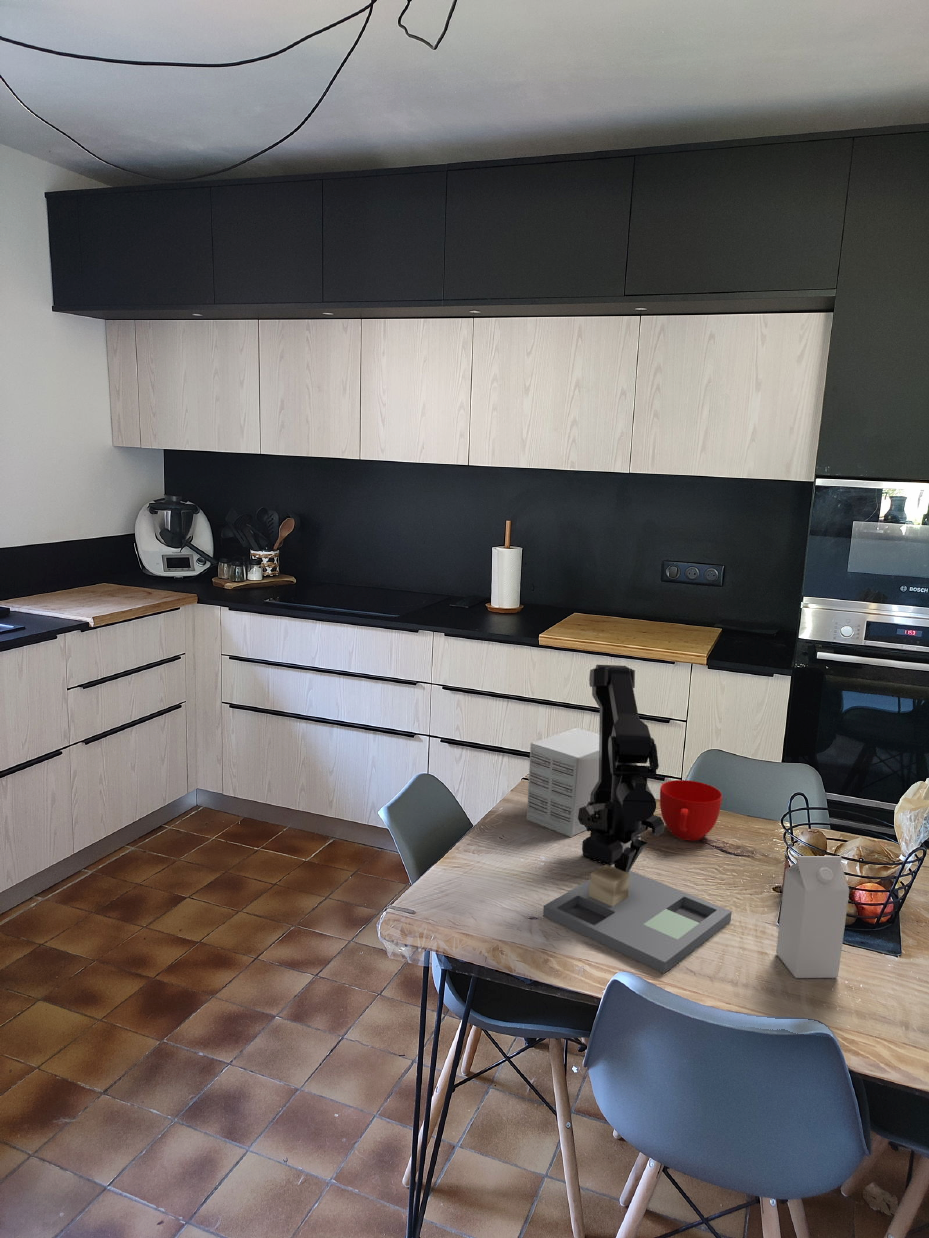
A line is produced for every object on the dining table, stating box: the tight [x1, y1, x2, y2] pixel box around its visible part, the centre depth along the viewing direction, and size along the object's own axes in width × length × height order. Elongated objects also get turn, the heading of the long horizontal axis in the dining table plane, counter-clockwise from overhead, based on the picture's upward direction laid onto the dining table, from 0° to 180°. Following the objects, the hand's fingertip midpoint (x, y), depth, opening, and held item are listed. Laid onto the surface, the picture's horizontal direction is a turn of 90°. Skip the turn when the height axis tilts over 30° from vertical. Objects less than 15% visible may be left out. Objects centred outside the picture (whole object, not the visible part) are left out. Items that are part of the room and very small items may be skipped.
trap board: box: [542, 865, 733, 974], centre depth 153 cm, size 23×24×2 cm
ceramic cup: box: [659, 779, 723, 842], centre depth 187 cm, size 13×17×10 cm
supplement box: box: [526, 727, 599, 838], centre depth 194 cm, size 17×13×18 cm
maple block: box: [589, 864, 630, 907], centre depth 156 cm, size 5×5×4 cm
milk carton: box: [775, 855, 850, 979], centre depth 139 cm, size 7×7×19 cm
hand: (621, 878), depth 159 cm, fingers closed
